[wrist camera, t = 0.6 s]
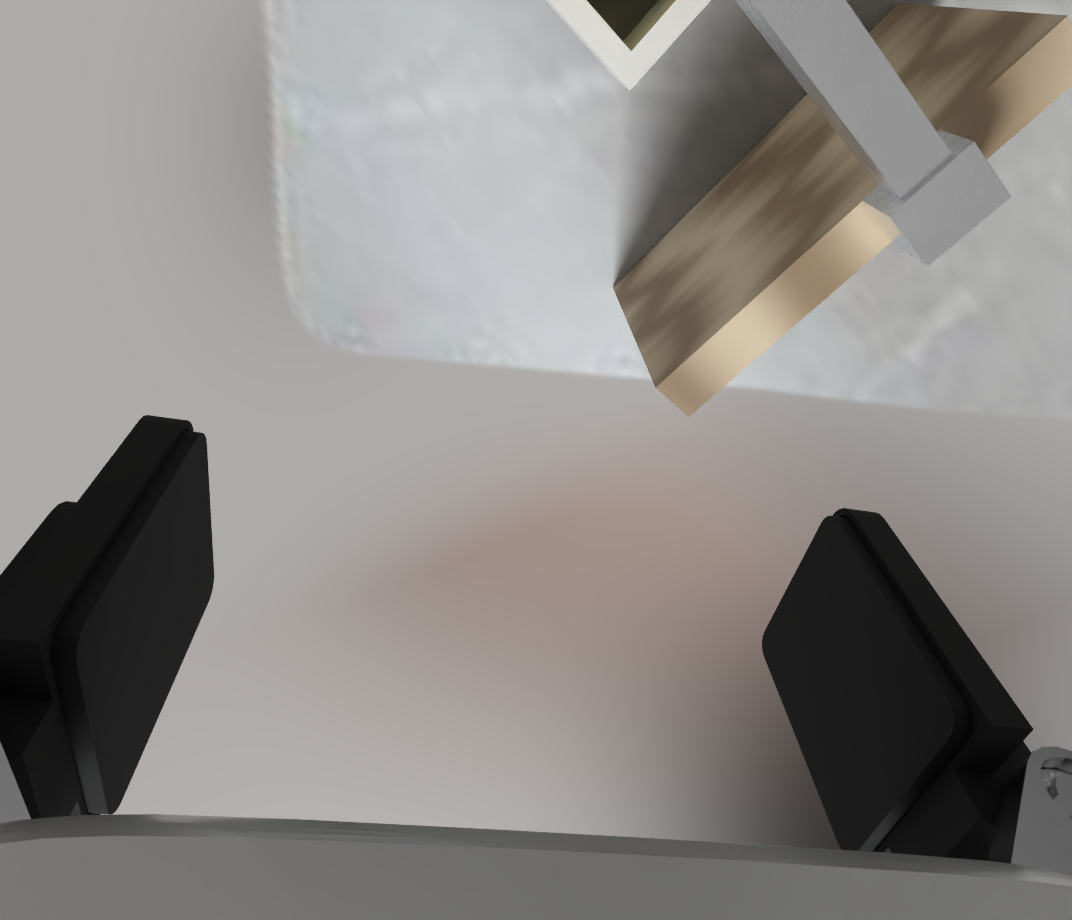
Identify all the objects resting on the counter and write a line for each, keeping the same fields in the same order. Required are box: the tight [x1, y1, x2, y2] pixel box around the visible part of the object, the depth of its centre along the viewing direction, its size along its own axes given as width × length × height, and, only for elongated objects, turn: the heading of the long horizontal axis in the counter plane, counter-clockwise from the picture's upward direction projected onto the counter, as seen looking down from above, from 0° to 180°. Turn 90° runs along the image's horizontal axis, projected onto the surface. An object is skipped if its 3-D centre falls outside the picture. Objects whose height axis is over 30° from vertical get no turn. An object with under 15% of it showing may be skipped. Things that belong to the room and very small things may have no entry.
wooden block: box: [613, 3, 1072, 417], centre depth 31 cm, size 17×2×11 cm, turn 137°
